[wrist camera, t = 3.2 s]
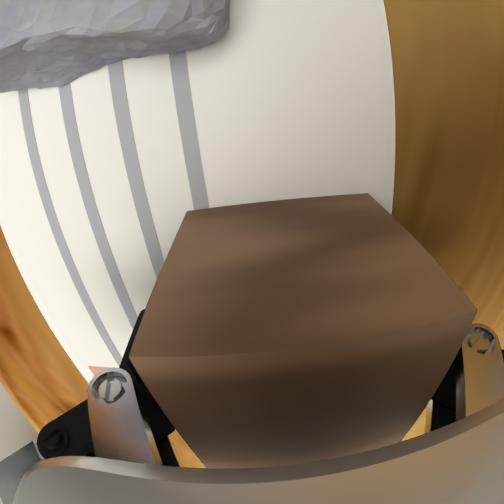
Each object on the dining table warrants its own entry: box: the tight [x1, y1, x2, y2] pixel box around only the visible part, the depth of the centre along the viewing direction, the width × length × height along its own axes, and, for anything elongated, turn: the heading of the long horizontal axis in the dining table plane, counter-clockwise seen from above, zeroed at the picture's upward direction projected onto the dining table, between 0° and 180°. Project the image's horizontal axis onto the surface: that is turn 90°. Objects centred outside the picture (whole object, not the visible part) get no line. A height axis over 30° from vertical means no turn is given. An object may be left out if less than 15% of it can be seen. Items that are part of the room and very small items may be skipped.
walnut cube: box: [129, 193, 477, 469], centre depth 8 cm, size 6×6×6 cm
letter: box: [0, 0, 395, 383], centre depth 11 cm, size 16×20×1 cm
